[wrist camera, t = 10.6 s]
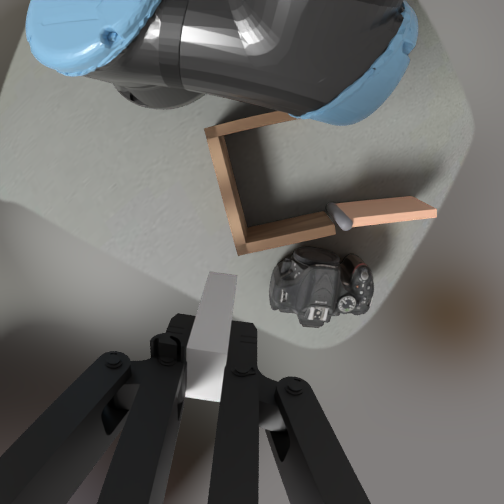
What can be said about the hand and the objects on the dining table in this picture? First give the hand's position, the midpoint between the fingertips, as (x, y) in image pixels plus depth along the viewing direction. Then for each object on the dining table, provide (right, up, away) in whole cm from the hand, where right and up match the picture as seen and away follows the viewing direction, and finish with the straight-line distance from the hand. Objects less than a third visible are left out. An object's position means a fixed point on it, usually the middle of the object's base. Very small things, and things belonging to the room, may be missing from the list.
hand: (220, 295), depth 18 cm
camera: (+10, 0, +26) cm, 28 cm away
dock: (+5, +12, +21) cm, 25 cm away
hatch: (+17, +8, +22) cm, 29 cm away
